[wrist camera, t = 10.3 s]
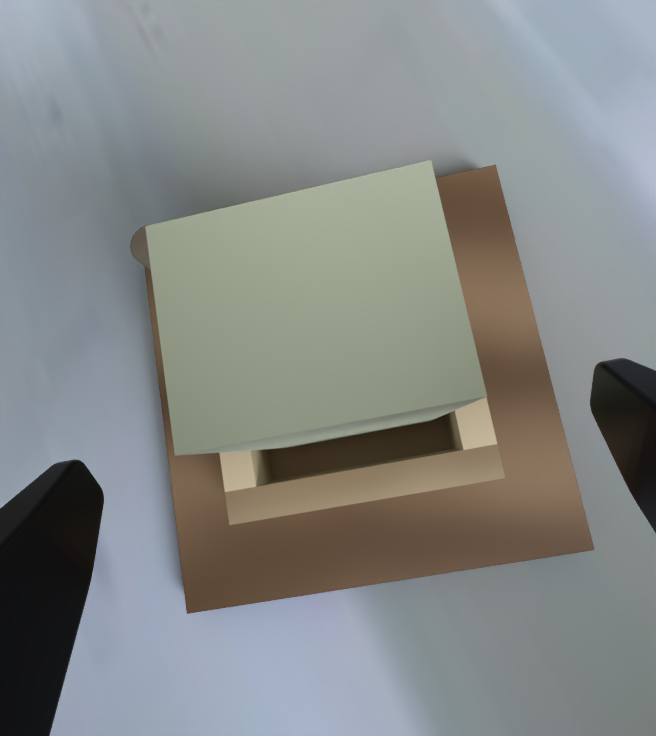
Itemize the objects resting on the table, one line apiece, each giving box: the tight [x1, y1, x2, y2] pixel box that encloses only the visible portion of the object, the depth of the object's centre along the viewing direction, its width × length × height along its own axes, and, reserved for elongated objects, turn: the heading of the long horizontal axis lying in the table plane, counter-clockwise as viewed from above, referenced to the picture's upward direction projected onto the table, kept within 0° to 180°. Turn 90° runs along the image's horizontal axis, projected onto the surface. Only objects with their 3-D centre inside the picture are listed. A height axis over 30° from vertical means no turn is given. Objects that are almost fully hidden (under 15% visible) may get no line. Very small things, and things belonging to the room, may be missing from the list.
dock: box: [130, 165, 594, 614], centre depth 17 cm, size 14×14×4 cm
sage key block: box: [145, 160, 487, 456], centre depth 13 cm, size 4×5×10 cm
